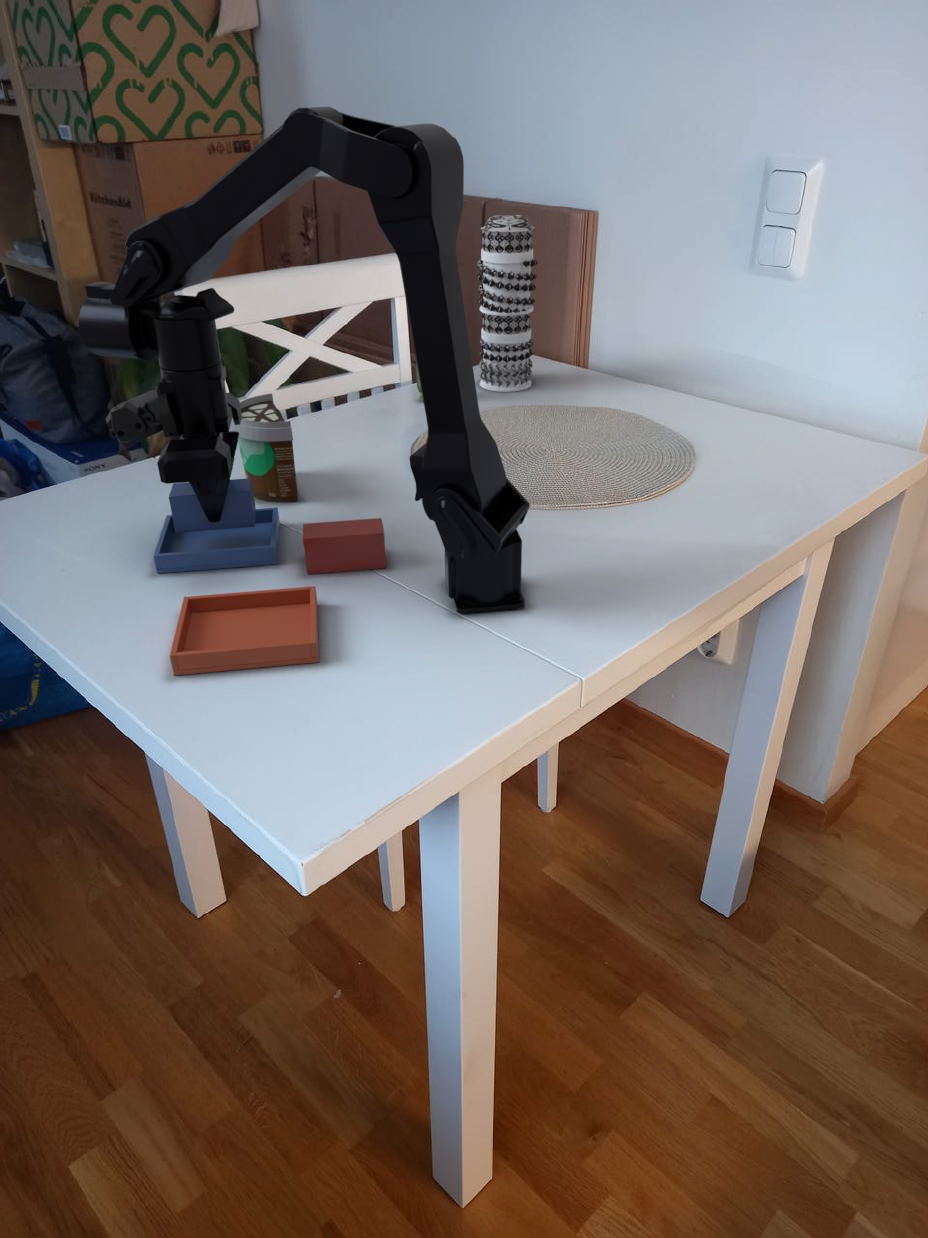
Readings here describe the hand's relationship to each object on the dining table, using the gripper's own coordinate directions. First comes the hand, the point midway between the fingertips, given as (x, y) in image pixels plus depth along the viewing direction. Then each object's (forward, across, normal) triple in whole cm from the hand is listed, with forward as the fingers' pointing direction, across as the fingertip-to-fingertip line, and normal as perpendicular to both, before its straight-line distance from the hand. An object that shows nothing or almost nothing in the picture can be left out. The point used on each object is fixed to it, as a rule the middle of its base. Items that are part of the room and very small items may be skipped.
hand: (216, 513), depth 93 cm
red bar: (+4, +6, +13) cm, 15 cm away
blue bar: (+1, 0, 0) cm, 1 cm away
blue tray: (+4, 0, 0) cm, 4 cm away
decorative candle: (+4, -53, +41) cm, 67 cm away
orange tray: (+4, +19, +4) cm, 20 cm away
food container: (+4, -15, +4) cm, 16 cm away
